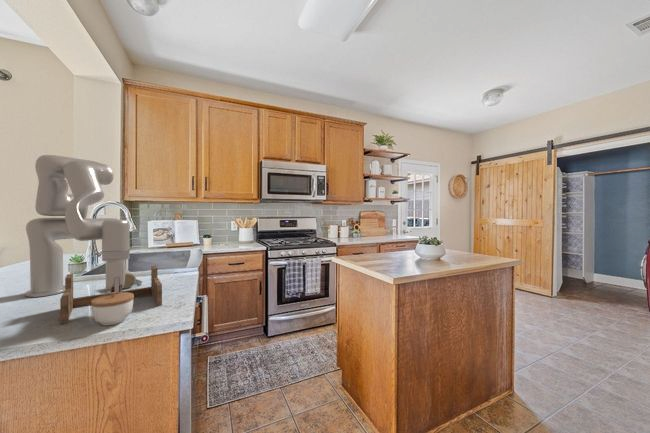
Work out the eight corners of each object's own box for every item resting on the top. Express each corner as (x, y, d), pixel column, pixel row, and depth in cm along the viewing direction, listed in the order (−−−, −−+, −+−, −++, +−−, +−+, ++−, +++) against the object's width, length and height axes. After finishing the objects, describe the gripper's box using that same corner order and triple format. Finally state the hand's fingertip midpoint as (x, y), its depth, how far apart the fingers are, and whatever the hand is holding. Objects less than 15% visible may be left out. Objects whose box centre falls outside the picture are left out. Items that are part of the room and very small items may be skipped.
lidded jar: (105, 331, 77) (105, 300, 77) (82, 325, 81) (82, 295, 81) (141, 317, 87) (141, 289, 87) (120, 312, 91) (120, 285, 91)
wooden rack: (67, 307, 95) (67, 274, 95) (155, 293, 112) (155, 265, 112) (60, 324, 81) (60, 286, 81) (161, 305, 99) (161, 273, 98)
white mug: (117, 291, 114) (117, 273, 114) (111, 287, 119) (111, 270, 119) (145, 285, 123) (145, 269, 123) (138, 282, 128) (138, 267, 128)
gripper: (102, 253, 94) (102, 303, 95) (101, 259, 83) (102, 317, 83) (128, 251, 99) (128, 299, 99) (131, 257, 87) (131, 311, 88)
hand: (116, 307), depth 91 cm, fingers closed
